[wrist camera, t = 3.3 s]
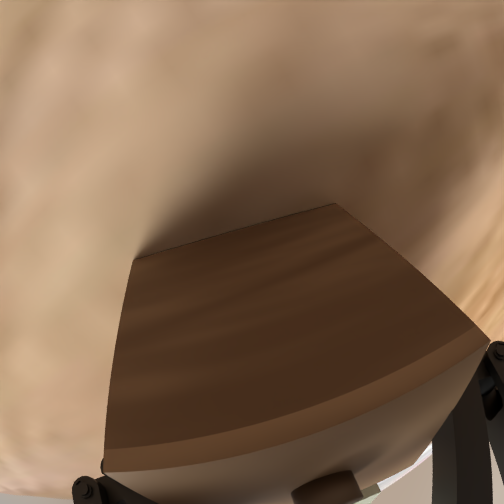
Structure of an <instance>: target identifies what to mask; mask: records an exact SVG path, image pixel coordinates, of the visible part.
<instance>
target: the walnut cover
mask: <svg viewBox="0 0 504 504" xmlns="http://www.w3.org/2000/svg"><path fill="white" fill-rule="evenodd" d="M490 341H491V340H490V339H489V338H488V337H487V336H486V335H485V334H484V333H483V332H482V331H481V330H480V328H479V327H478V326H477V325H476V324H475V323H474V322H473V321H472V320H471V319H470V318H469V317H468V316H467V315H466V314H464V313H463V312H462V311H461V310H460V309H459V308H458V307H457V306H456V305H455V304H454V303H453V302H452V301H451V300H450V299H449V298H448V297H447V296H446V295H445V294H444V293H442V292H441V291H440V290H439V289H438V288H437V287H436V286H435V285H434V284H433V283H432V282H430V281H429V280H428V279H427V278H426V277H425V276H424V275H423V274H422V273H420V272H419V271H418V270H417V269H416V268H415V267H414V266H412V265H411V264H410V263H409V262H408V261H407V260H406V259H404V258H403V257H402V256H401V255H400V254H398V253H397V252H396V251H395V250H394V249H393V248H391V247H390V246H389V245H388V244H387V243H385V242H384V241H383V240H382V239H380V238H379V237H378V236H377V235H375V234H374V233H373V232H372V231H371V230H369V229H368V228H367V227H366V226H364V225H363V224H362V223H360V222H359V221H358V220H357V219H355V218H354V217H353V216H351V215H350V214H349V213H348V212H346V211H345V210H344V209H342V208H341V207H340V206H338V205H337V204H336V203H335V204H332V205H328V206H324V207H320V208H316V209H313V210H309V211H305V212H301V213H297V214H294V215H290V216H286V217H283V218H279V219H275V220H272V221H268V222H264V223H261V224H257V225H253V226H250V227H246V228H243V229H239V230H236V231H232V232H228V233H225V234H221V235H218V236H214V237H211V238H207V239H204V240H200V241H197V242H194V243H190V244H187V245H183V246H180V247H177V248H173V249H170V250H166V251H163V252H160V253H156V254H153V255H150V256H146V257H143V258H140V259H136V260H133V262H132V267H131V271H130V275H129V279H128V284H127V288H126V293H125V298H124V302H123V307H122V312H121V317H120V323H119V328H118V334H117V339H116V345H115V352H114V358H113V365H112V372H111V379H110V387H109V396H108V405H107V415H106V427H105V441H104V460H103V473H104V474H106V475H108V476H109V477H111V478H112V479H114V480H116V481H117V482H119V483H121V484H123V485H124V486H126V487H128V488H130V489H131V490H133V491H135V492H137V493H139V494H141V495H142V496H144V497H146V498H148V499H150V500H152V501H154V502H156V503H158V504H354V503H356V502H358V501H359V500H361V499H362V498H363V497H364V496H363V494H362V492H361V490H363V489H365V488H367V487H370V486H372V485H374V484H376V483H378V482H380V481H382V480H385V479H387V478H389V477H391V476H393V475H395V474H396V473H398V472H400V471H402V470H404V469H406V468H408V467H410V466H411V465H413V464H414V463H415V462H416V460H417V459H418V458H419V457H420V455H421V454H422V453H423V452H424V450H425V449H426V448H427V446H428V445H429V444H430V442H431V441H432V439H433V437H434V436H435V434H436V433H437V432H438V430H439V429H440V427H441V426H442V424H443V423H444V421H445V420H446V418H447V417H448V415H449V414H450V412H451V411H452V410H453V409H454V407H455V406H456V404H457V403H458V401H459V399H460V398H461V396H462V394H463V393H464V391H465V389H466V388H467V386H468V384H469V382H470V380H471V379H472V377H473V375H474V373H475V371H476V369H477V367H478V366H479V364H480V362H481V360H482V358H483V356H484V354H485V352H486V349H487V347H488V345H489V343H490Z"/></svg>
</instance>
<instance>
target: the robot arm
mask: <svg viewBox="0 0 504 504" xmlns="http://www.w3.org/2000/svg"><path fill="white" fill-rule="evenodd" d="M489 442H490V444H491V447H492V450H493V453H494V456H495V459H496V462H497V465H498V468H499V471H500V474H501V477H502V481H503V484H504V342H502V341H495V342H493V343H491V344H490V345H489V347H488V349H487V351H486V352H485V354H484V356H483V358H482V360H481V362H480V364H479V366H478V367H477V369H476V371H475V373H474V375H473V377H472V379H471V380H470V382H469V384H468V386H467V388H466V389H465V391H464V393H463V394H462V396H461V398H460V399H459V401H458V403H457V404H456V406H455V407H454V409H453V410H452V411H451V412H450V414H449V415H448V417H447V418H446V420H445V421H444V423H443V424H442V426H441V427H440V429H439V430H438V432H437V433H436V434H435V436H434V437H433V439H432V453H433V486H432V504H493V494H492V493H493V491H492V469H491V457H490V448H489ZM103 460H104V458H103V459H102V461H101V467H100V468H101V472H102V474H104V473H103ZM104 475H105V476H103V477H100V478H97V479H93V478H91V477H89V476H82V477H80V478H78V479H77V480H76V481H75V482H74V484H73V486H72V495H73V501H74V504H158V503H156V502H154V501H152V500H150V499H148V498H146V497H144V496H142V495H141V494H139V493H137V492H135V491H133V490H131V489H130V488H128V487H126V486H124V485H123V484H121V483H119V482H117V481H116V480H114V479H112V478H111V477H109V476H108V475H106V474H104Z"/></svg>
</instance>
